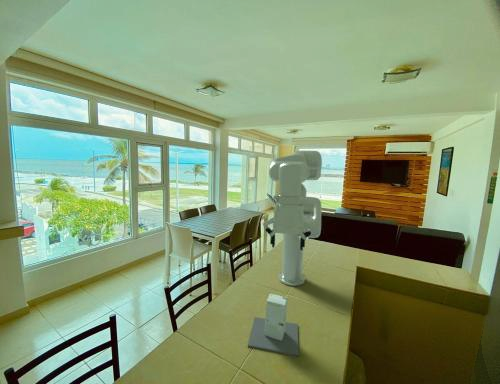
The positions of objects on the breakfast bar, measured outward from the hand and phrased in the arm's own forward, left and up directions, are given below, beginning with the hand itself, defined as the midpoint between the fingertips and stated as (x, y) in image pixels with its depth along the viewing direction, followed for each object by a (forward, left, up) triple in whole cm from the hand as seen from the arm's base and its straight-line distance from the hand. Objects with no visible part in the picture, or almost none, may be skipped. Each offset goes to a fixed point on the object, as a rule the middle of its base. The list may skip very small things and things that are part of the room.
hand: (287, 247), depth 74 cm
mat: (+10, -3, -26) cm, 28 cm away
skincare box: (+10, -2, -26) cm, 28 cm away
